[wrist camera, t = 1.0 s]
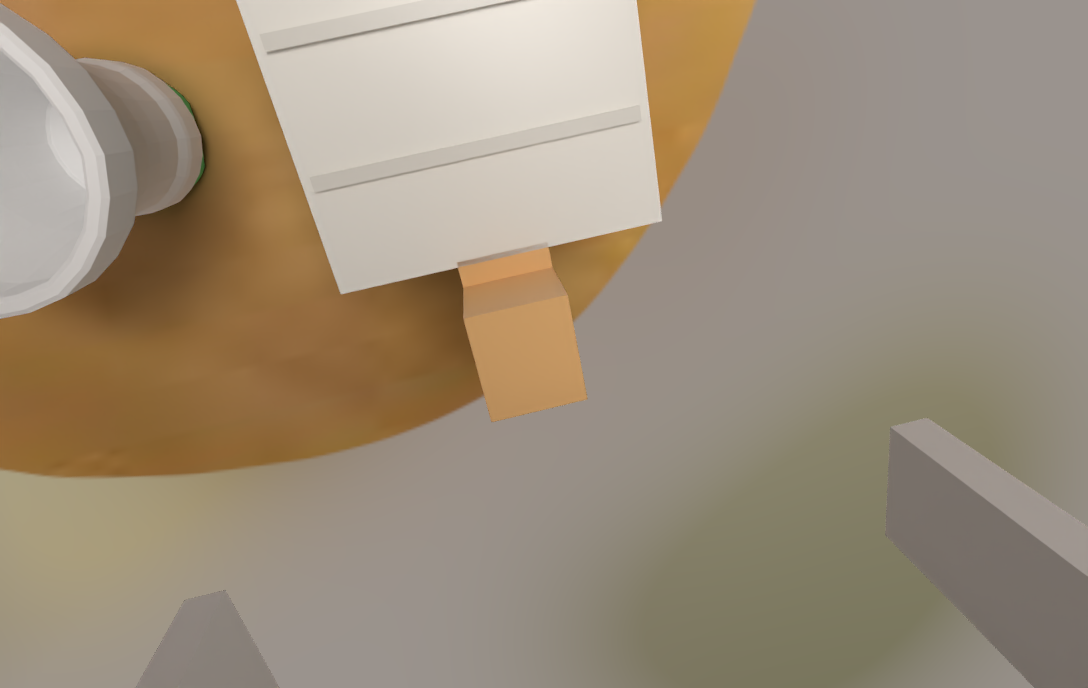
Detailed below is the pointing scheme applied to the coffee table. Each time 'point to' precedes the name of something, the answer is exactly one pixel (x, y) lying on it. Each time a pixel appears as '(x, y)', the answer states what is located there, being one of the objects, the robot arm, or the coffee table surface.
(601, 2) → the lid
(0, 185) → the cup
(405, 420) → the coffee table surface
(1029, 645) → the robot arm
